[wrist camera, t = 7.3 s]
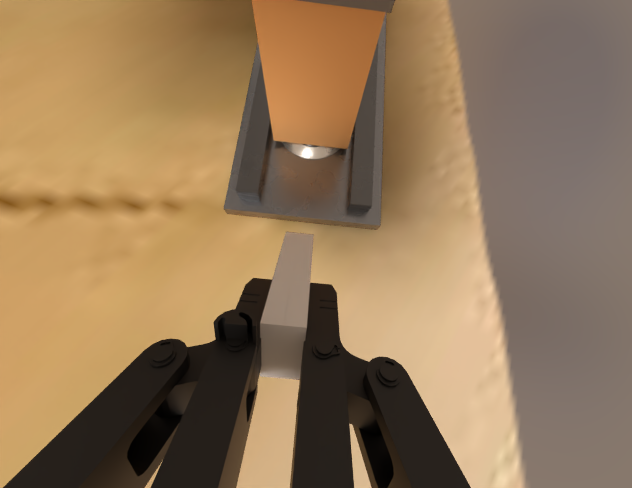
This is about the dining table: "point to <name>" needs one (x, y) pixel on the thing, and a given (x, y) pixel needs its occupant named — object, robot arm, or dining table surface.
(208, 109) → the dining table surface
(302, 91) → the orange tall block
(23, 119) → the dining table surface
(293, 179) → the gray canister tray
